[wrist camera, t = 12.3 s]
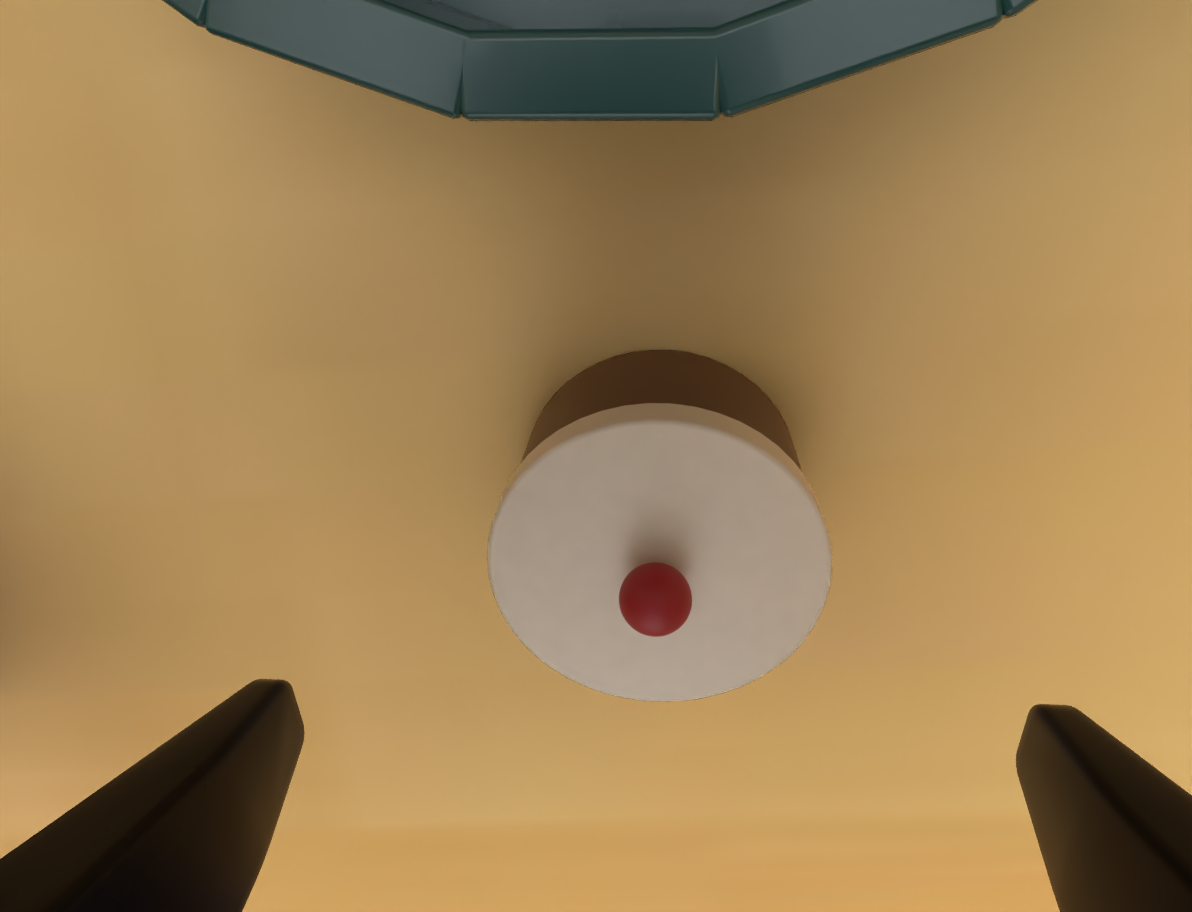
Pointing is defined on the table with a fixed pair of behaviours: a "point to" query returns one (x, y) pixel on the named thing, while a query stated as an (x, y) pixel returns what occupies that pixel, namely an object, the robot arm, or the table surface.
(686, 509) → the cake
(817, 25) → the pot
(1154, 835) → the robot arm
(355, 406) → the table surface
